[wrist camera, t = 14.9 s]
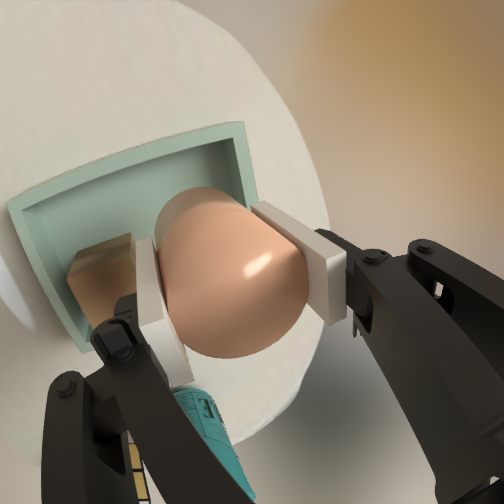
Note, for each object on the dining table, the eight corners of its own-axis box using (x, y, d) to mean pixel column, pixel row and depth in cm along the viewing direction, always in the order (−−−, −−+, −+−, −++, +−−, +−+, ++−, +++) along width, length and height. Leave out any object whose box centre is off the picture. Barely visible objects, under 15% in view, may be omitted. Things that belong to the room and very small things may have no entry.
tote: (85, 326, 25) (81, 353, 21) (24, 191, 18) (5, 202, 15) (256, 268, 29) (273, 287, 26) (227, 122, 23) (243, 121, 19)
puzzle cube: (141, 469, 37) (152, 518, 28) (84, 467, 33) (90, 517, 24) (139, 442, 34) (150, 500, 25) (73, 438, 30) (75, 497, 21)
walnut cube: (100, 300, 24) (96, 334, 20) (77, 251, 22) (66, 279, 17) (150, 283, 25) (154, 315, 21) (130, 232, 23) (129, 256, 18)
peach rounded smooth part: (169, 286, 16) (194, 375, 10) (142, 202, 14) (145, 260, 8) (251, 259, 18) (313, 328, 12) (235, 176, 15) (303, 211, 9)
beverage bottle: (152, 406, 32) (192, 554, 15) (172, 372, 31) (228, 539, 14) (197, 414, 35) (250, 545, 18) (220, 382, 34) (290, 526, 17)
